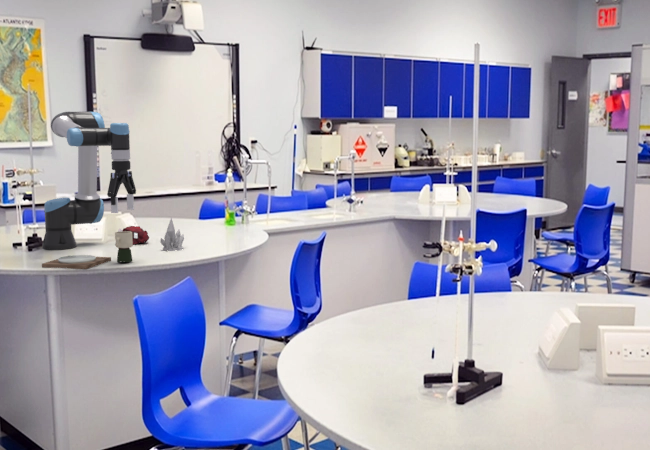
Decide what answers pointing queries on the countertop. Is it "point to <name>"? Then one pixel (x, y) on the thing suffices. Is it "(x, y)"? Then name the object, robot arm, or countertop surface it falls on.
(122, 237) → the character mug
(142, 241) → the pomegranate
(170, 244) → the crystal
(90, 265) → the stand
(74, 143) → the robot arm
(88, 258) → the saucer
